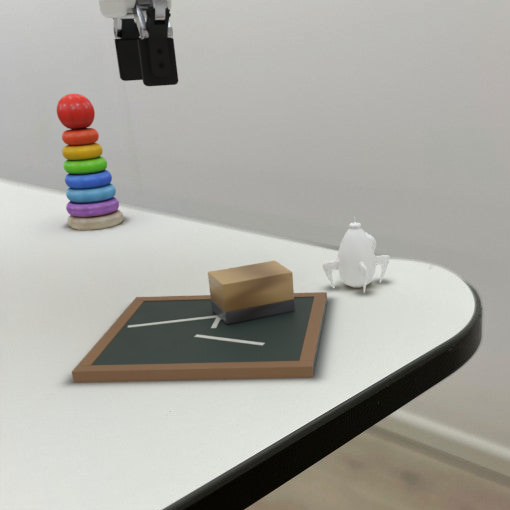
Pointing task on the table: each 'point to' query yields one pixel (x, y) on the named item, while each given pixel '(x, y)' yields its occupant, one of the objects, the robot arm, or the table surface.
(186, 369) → the chalkboard
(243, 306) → the eraser
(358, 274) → the rocket toy
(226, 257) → the table surface
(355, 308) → the table surface
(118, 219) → the stacking toy
